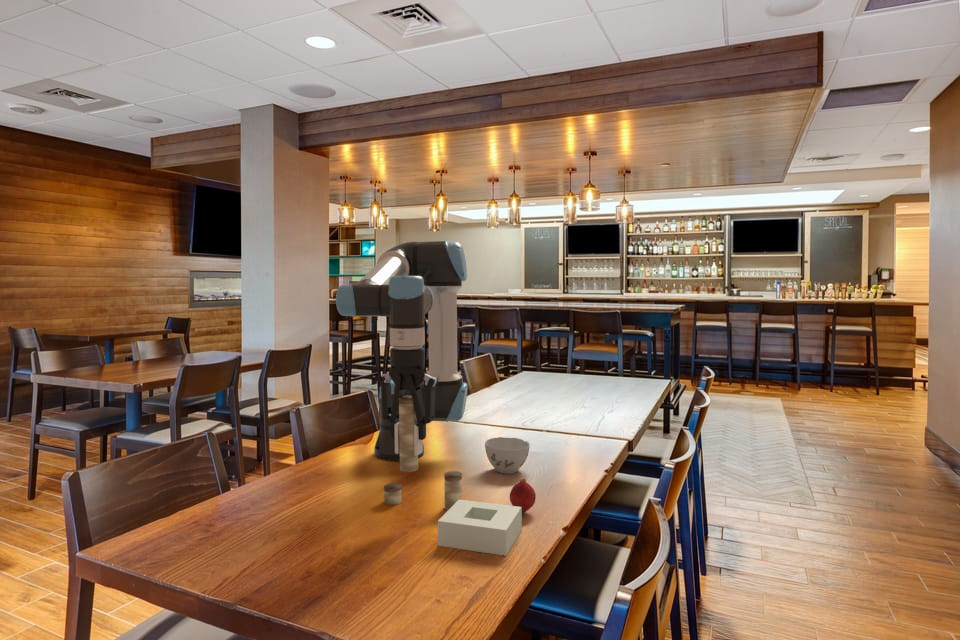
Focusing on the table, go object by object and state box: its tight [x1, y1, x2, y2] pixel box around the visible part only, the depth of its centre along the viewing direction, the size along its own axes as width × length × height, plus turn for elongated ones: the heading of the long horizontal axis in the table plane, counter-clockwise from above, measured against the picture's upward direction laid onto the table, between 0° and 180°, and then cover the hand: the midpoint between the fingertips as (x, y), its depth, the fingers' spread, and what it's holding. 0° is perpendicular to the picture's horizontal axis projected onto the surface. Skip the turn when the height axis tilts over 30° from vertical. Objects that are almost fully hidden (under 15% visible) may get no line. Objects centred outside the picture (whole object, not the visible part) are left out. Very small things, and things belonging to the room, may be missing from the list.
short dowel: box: [383, 482, 402, 506], centre depth 135 cm, size 4×4×4 cm
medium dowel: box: [443, 470, 463, 512], centre depth 131 cm, size 4×4×8 cm
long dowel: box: [399, 395, 419, 473], centre depth 124 cm, size 4×4×16 cm
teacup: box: [484, 436, 530, 475], centre depth 159 cm, size 15×12×8 cm
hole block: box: [437, 499, 523, 557], centre depth 115 cm, size 14×12×5 cm
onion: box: [509, 477, 537, 514], centre depth 128 cm, size 6×6×8 cm
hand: (408, 452), depth 125 cm, fingers closed on long dowel, 4 cm apart
